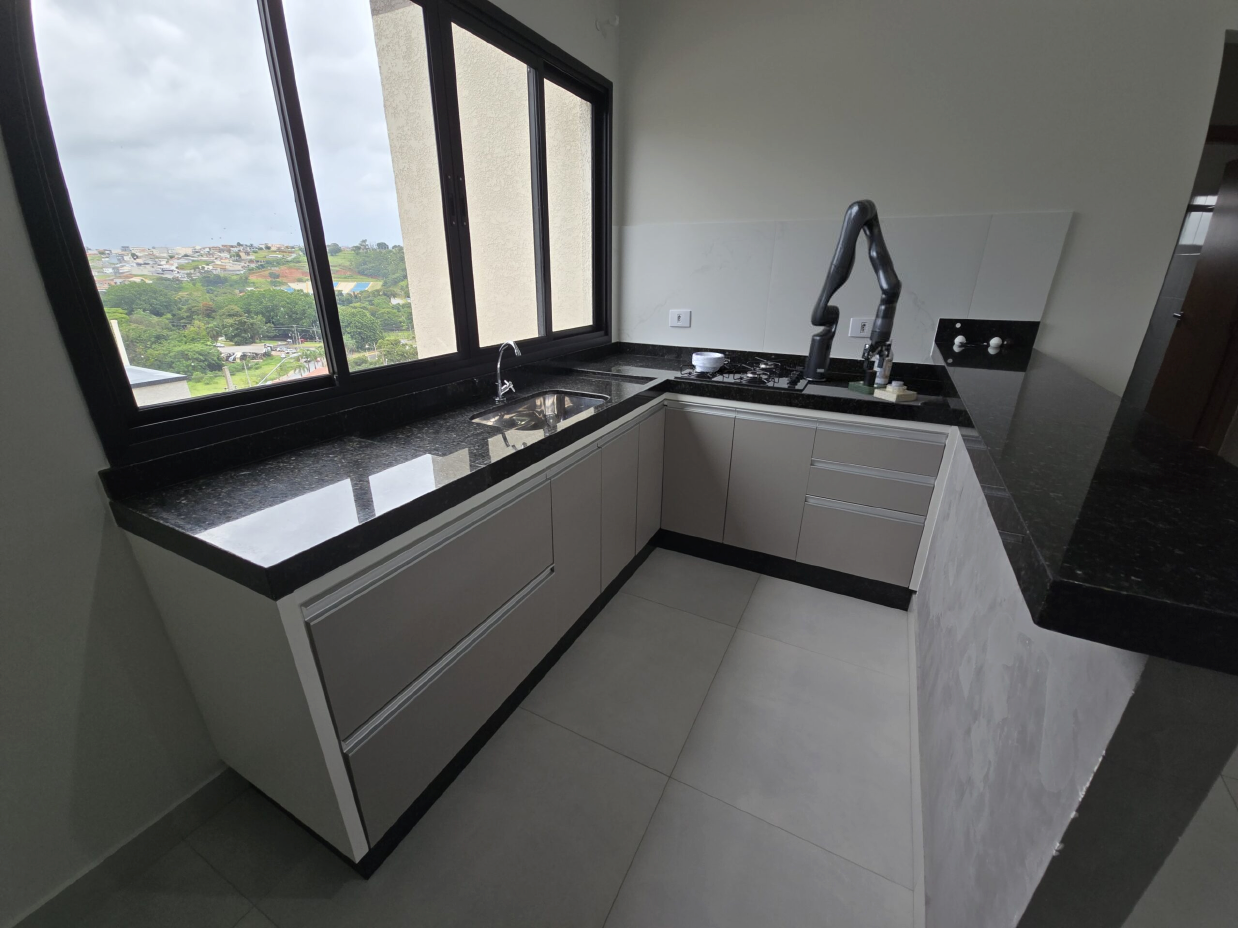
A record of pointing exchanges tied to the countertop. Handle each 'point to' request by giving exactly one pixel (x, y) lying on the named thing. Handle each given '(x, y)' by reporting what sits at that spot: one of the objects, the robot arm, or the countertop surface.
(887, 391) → the cream push button box
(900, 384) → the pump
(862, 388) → the tap panel
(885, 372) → the bath foam
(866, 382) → the dark brown cylinder
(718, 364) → the paper bowls
